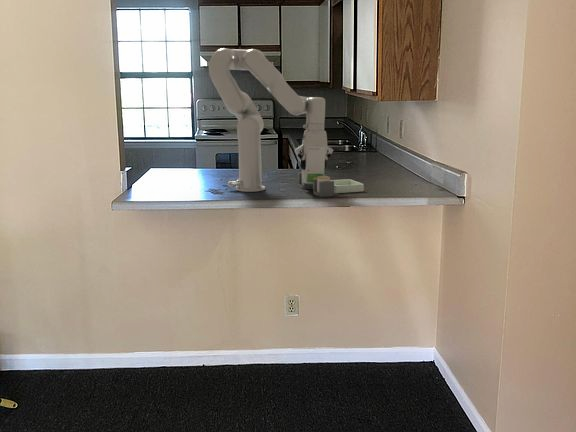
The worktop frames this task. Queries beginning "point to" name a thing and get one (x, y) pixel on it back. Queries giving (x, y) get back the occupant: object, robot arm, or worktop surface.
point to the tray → (347, 186)
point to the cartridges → (320, 179)
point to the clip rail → (324, 187)
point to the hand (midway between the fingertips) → (313, 169)
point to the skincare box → (314, 164)
